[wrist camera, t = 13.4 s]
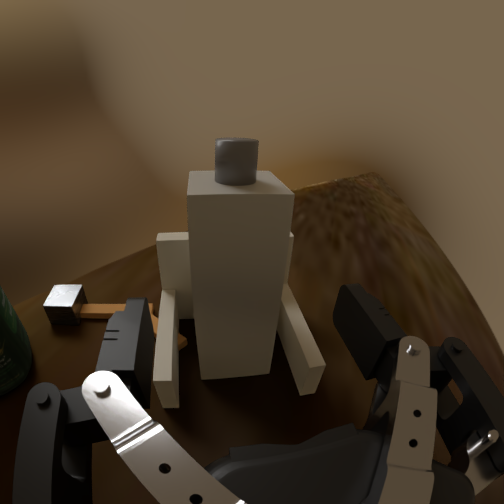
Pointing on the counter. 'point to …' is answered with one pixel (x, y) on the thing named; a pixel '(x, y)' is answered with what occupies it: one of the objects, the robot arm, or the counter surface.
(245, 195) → the white square bottle
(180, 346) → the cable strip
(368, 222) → the counter surface
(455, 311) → the counter surface
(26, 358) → the coffee jar
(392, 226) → the counter surface
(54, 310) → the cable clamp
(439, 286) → the counter surface
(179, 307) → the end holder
